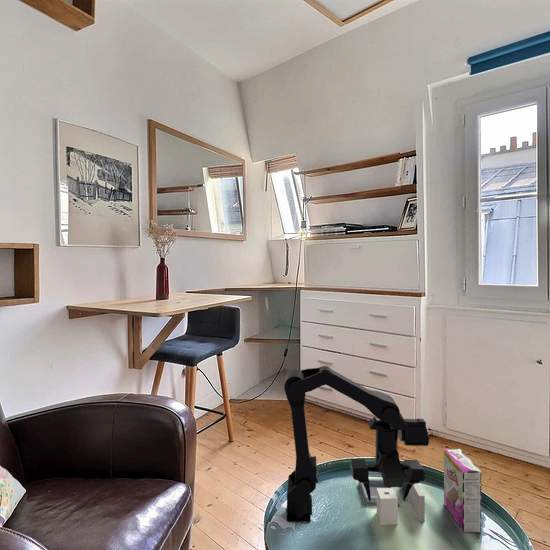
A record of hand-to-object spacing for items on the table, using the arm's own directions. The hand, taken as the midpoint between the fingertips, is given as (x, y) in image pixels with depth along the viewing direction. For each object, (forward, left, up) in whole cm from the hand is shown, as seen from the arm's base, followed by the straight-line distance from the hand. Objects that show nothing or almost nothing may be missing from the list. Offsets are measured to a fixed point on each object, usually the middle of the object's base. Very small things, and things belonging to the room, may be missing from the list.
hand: (386, 500), depth 99 cm
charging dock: (0, +10, -5) cm, 11 cm away
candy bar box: (+20, 0, -5) cm, 21 cm away
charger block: (0, 0, -5) cm, 5 cm away
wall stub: (+9, +6, -5) cm, 12 cm away
